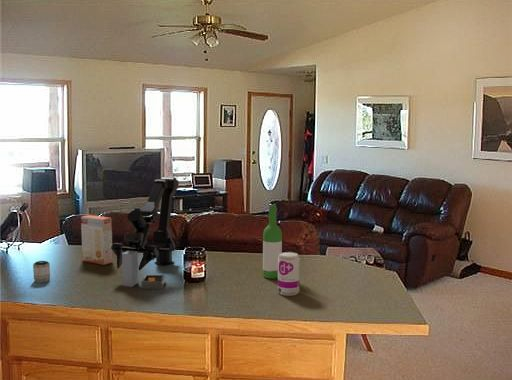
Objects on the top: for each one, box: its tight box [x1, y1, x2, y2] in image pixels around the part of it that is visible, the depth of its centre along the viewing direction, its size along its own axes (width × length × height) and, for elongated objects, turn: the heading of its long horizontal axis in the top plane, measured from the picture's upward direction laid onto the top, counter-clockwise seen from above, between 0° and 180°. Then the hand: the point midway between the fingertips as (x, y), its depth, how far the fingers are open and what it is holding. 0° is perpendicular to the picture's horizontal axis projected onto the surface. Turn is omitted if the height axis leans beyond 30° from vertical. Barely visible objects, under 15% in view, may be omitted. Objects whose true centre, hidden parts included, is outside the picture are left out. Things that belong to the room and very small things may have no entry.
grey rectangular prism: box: [121, 251, 139, 288], centre depth 226 cm, size 5×4×13 cm
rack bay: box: [140, 274, 166, 290], centre depth 225 cm, size 9×8×4 cm
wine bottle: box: [262, 204, 283, 280], centre depth 236 cm, size 8×8×30 cm
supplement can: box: [277, 251, 301, 297], centre depth 216 cm, size 8×8×15 cm
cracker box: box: [80, 214, 114, 266], centre depth 259 cm, size 14×6×21 cm, turn 58°
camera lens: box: [32, 260, 51, 284], centre depth 230 cm, size 6×6×8 cm
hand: (128, 268), depth 224 cm, fingers open, 9 cm apart
